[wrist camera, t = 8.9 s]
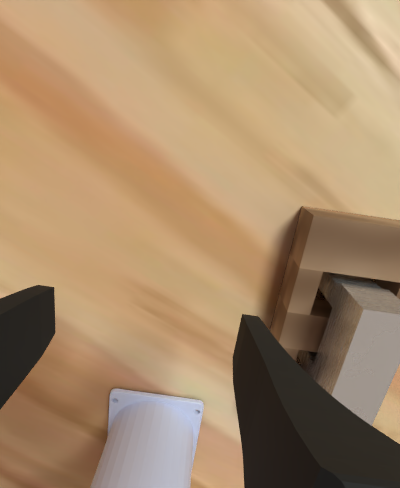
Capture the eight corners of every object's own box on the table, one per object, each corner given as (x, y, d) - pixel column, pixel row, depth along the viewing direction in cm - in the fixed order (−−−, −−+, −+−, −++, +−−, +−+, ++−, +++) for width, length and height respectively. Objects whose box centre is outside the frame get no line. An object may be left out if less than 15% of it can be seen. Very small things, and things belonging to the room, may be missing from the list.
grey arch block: (333, 360, 24) (370, 429, 18) (295, 355, 24) (321, 422, 18) (365, 269, 21) (420, 317, 16) (323, 263, 21) (363, 309, 16)
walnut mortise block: (347, 404, 25) (361, 431, 23) (254, 391, 25) (258, 417, 23) (420, 223, 20) (448, 235, 18) (301, 206, 20) (313, 215, 18)
